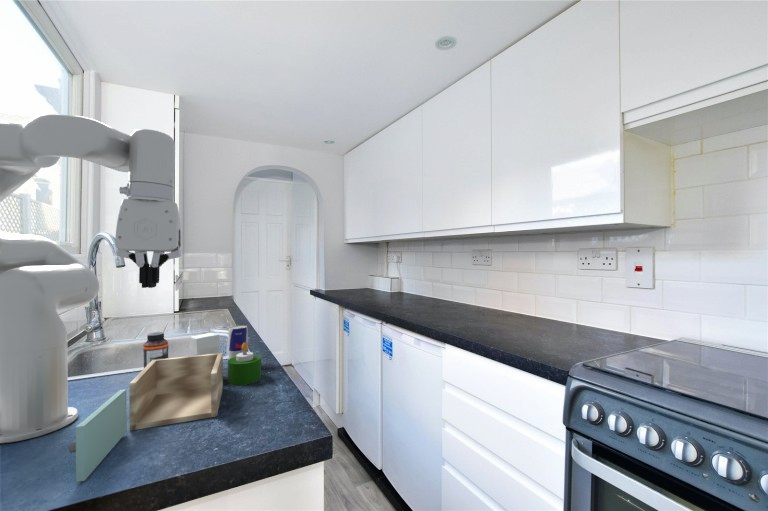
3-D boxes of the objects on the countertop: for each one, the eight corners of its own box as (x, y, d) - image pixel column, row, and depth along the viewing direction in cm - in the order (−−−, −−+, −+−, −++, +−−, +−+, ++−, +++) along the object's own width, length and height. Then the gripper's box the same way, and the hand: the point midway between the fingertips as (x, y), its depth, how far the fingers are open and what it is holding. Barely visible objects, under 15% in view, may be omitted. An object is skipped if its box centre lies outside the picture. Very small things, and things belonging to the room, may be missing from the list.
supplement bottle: (146, 370, 99) (146, 332, 99) (170, 368, 102) (170, 330, 102) (140, 377, 94) (140, 336, 94) (165, 374, 96) (165, 334, 96)
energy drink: (241, 370, 99) (240, 329, 99) (224, 369, 100) (224, 328, 100) (251, 364, 104) (251, 325, 104) (236, 363, 105) (235, 325, 105)
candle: (233, 374, 95) (233, 339, 95) (264, 373, 96) (263, 338, 96) (223, 386, 87) (223, 347, 87) (257, 384, 88) (256, 345, 88)
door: (112, 433, 63) (112, 390, 63) (126, 431, 63) (126, 389, 63) (66, 483, 49) (65, 428, 49) (84, 480, 49) (84, 425, 50)
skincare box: (212, 374, 95) (212, 332, 95) (220, 377, 93) (220, 334, 93) (189, 381, 90) (189, 336, 90) (197, 384, 88) (197, 338, 88)
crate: (129, 430, 65) (129, 383, 65) (152, 398, 80) (152, 360, 80) (216, 416, 70) (216, 372, 70) (223, 388, 85) (222, 352, 85)
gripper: (96, 188, 61) (93, 289, 61) (189, 195, 66) (187, 288, 66) (114, 195, 69) (112, 285, 69) (197, 200, 73) (195, 285, 73)
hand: (149, 287), depth 67 cm, fingers closed
